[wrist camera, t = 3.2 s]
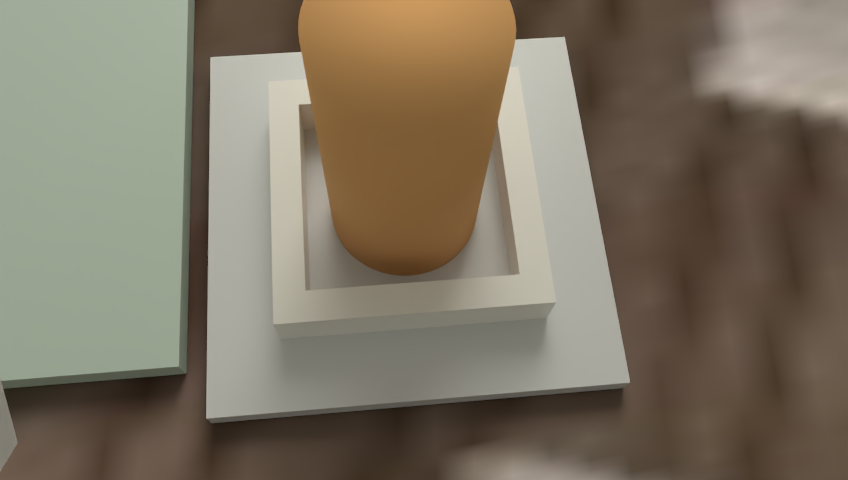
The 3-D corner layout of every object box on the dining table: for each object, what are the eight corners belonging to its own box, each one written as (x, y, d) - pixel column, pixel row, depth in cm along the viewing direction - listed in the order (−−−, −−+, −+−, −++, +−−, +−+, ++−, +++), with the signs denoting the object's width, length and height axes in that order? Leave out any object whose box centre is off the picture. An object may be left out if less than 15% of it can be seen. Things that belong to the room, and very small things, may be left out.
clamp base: (623, 388, 32) (644, 370, 29) (212, 423, 31) (193, 408, 28) (560, 50, 38) (573, 8, 35) (215, 70, 37) (200, 29, 34)
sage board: (186, 373, 31) (178, 366, 30) (-188, 404, 30) (-211, 398, 29) (196, -96, 40) (190, -115, 39) (-92, -83, 40) (-106, -102, 38)
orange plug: (484, 269, 32) (530, 111, 21) (335, 281, 32) (301, 125, 21) (468, 139, 35) (501, -66, 23) (328, 148, 34) (295, -55, 23)
